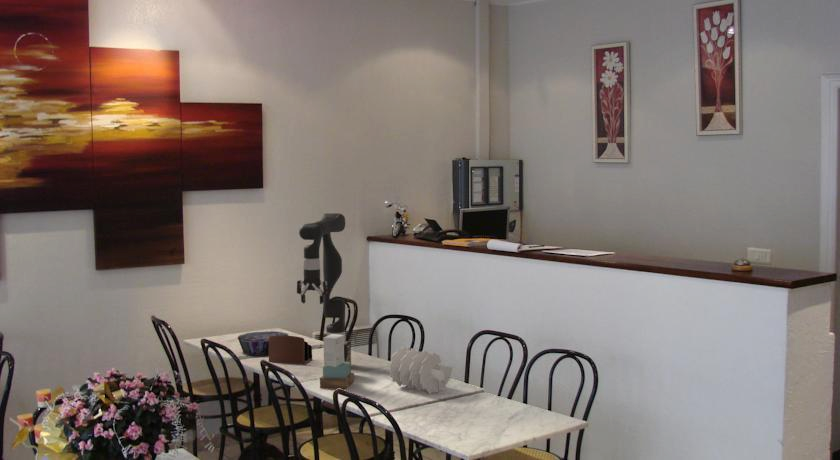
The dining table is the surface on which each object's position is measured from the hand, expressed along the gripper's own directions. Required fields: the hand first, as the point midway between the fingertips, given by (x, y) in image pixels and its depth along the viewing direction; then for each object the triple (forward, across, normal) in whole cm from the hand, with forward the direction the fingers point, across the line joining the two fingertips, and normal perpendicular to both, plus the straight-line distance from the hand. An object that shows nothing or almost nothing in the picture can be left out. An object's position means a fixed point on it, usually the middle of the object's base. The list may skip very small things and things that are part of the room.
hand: (312, 303), depth 389 cm
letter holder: (+36, +26, -35) cm, 57 cm away
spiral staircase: (+36, -51, +3) cm, 63 cm away
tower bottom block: (+36, -13, +5) cm, 39 cm away
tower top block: (+32, -13, +5) cm, 34 cm away
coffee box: (+36, -10, -11) cm, 39 cm away
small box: (+27, -12, +5) cm, 30 cm away
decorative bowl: (+37, +50, -54) cm, 82 cm away
